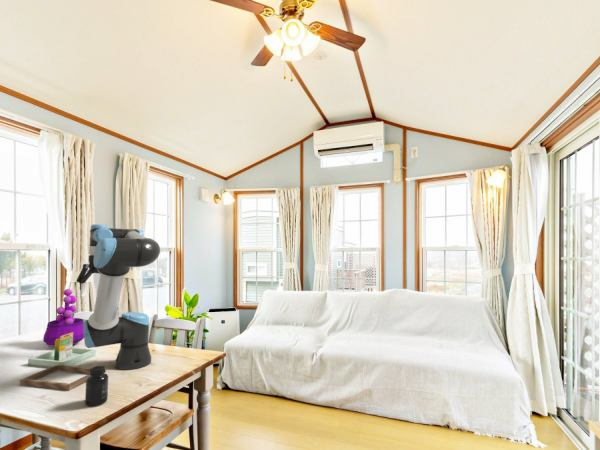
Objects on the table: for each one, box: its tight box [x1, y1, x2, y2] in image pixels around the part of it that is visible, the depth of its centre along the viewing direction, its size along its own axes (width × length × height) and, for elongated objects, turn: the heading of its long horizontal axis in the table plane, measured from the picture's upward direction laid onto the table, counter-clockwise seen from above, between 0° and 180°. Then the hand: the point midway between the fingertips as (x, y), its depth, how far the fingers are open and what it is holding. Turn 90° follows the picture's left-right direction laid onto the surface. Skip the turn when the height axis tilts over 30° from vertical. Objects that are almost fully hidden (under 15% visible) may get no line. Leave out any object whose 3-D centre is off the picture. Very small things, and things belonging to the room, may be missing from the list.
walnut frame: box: [19, 365, 92, 391], centre depth 136 cm, size 22×16×2 cm
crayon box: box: [54, 332, 74, 361], centre depth 157 cm, size 7×3×12 cm, turn 170°
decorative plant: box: [42, 288, 85, 347], centre depth 181 cm, size 19×18×30 cm
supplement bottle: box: [84, 365, 109, 408], centre depth 118 cm, size 7×7×12 cm
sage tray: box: [27, 346, 97, 369], centre depth 157 cm, size 18×18×3 cm
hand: (95, 296), depth 168 cm, fingers open, 13 cm apart
